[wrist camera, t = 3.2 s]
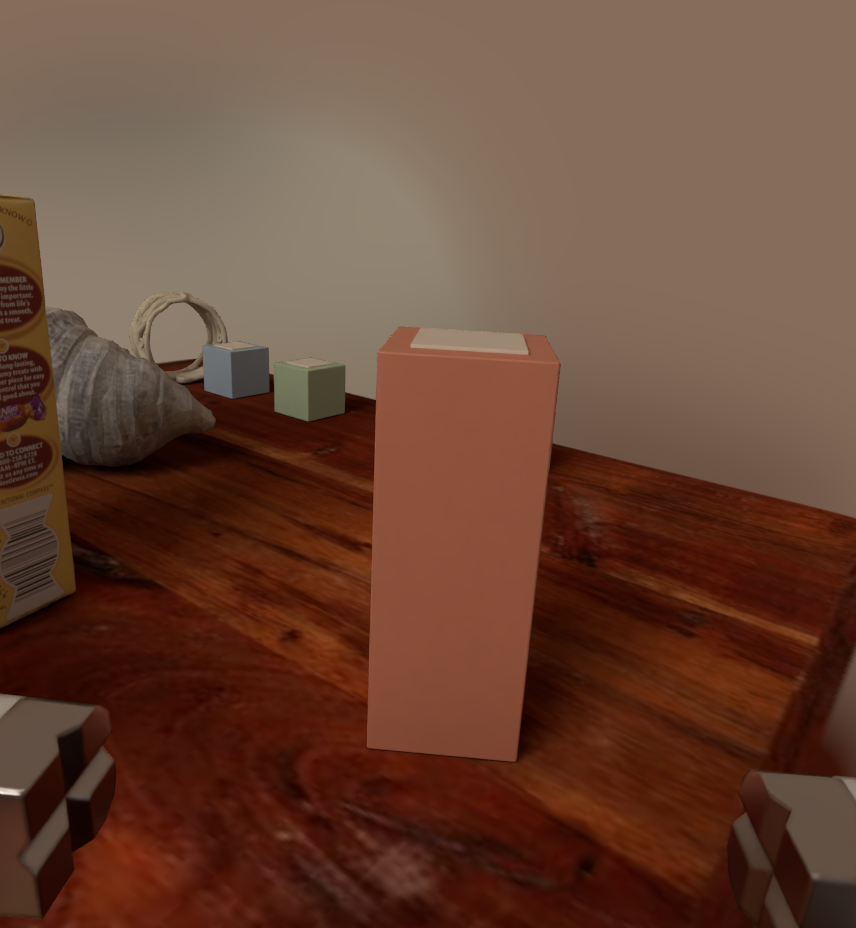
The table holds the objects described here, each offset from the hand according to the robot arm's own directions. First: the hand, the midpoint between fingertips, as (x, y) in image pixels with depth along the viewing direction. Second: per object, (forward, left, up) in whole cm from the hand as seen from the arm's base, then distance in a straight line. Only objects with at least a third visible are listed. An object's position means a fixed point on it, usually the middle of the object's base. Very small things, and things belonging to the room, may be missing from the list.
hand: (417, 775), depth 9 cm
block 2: (+13, -48, -8) cm, 50 cm away
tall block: (0, -12, -8) cm, 15 cm away
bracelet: (+26, -55, -8) cm, 62 cm away
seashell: (+26, -33, -8) cm, 43 cm away
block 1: (+20, -53, -8) cm, 57 cm away
